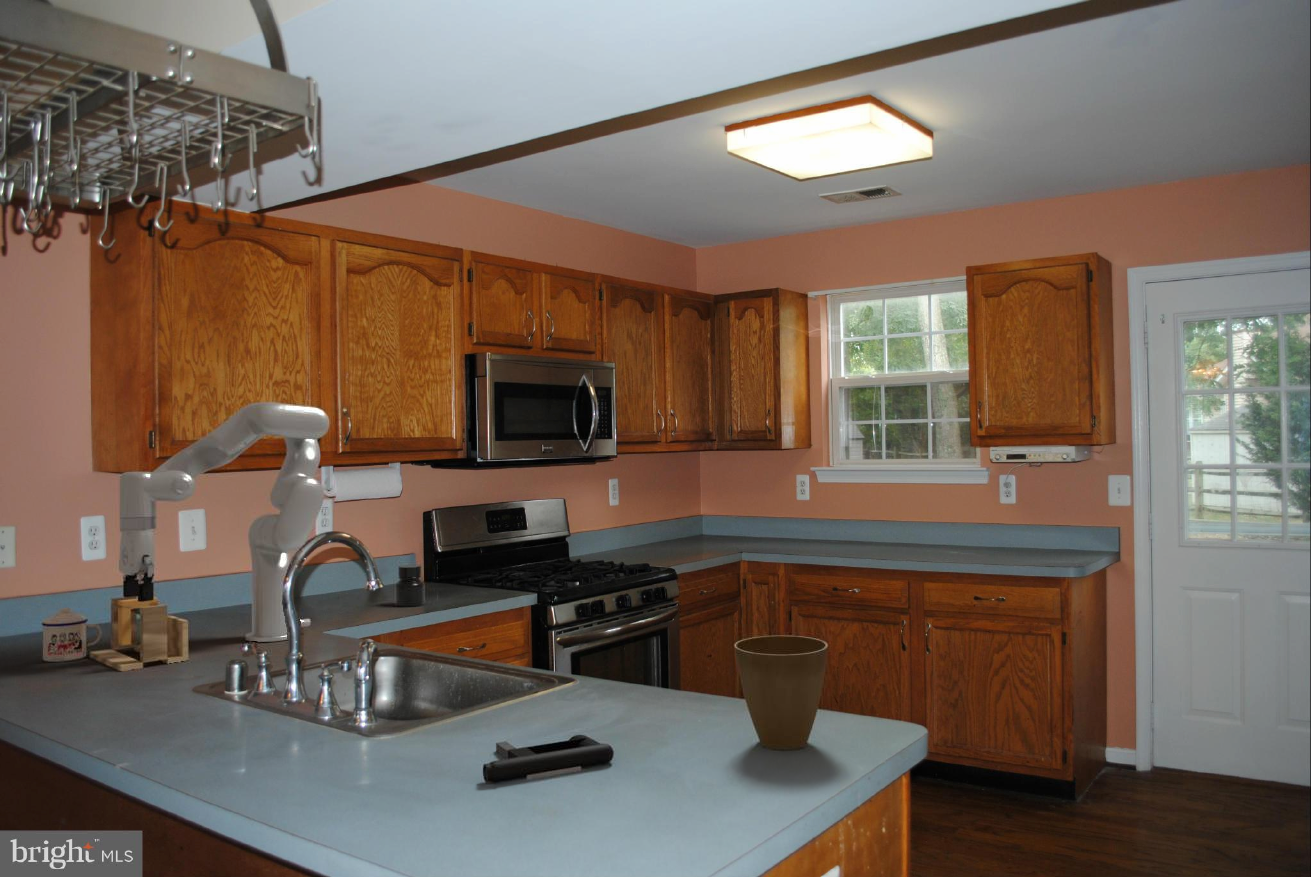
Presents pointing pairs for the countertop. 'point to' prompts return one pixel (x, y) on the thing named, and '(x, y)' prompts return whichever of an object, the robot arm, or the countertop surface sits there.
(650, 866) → the countertop surface
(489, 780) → the door handle
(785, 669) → the plant pot
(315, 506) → the robot arm
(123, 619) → the yellow wooden arch
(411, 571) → the ink bottle
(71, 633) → the teacup with lid
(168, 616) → the wooden rack
